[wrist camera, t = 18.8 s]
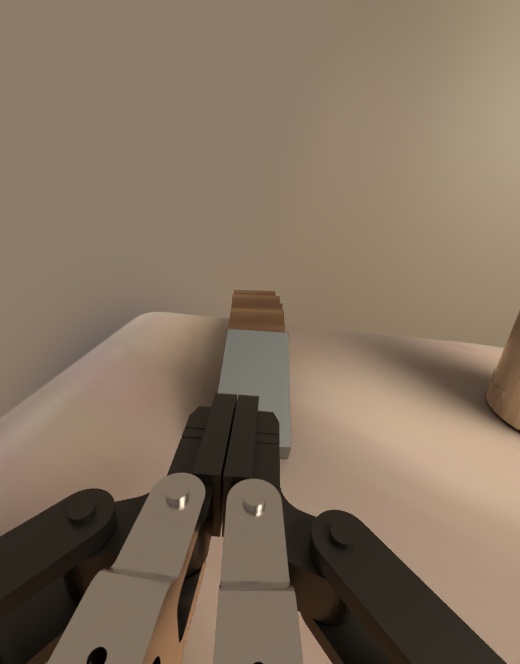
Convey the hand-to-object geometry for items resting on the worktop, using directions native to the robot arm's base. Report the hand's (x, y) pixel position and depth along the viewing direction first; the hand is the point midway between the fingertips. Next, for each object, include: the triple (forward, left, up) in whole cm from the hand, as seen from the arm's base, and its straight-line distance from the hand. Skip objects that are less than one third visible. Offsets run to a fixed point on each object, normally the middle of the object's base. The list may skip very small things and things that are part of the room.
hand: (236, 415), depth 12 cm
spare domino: (+3, -6, -8) cm, 11 cm away
